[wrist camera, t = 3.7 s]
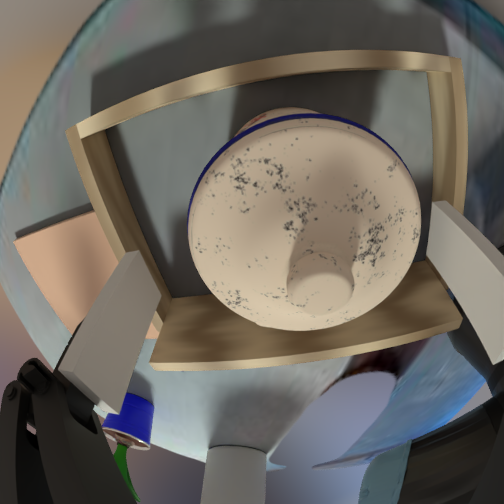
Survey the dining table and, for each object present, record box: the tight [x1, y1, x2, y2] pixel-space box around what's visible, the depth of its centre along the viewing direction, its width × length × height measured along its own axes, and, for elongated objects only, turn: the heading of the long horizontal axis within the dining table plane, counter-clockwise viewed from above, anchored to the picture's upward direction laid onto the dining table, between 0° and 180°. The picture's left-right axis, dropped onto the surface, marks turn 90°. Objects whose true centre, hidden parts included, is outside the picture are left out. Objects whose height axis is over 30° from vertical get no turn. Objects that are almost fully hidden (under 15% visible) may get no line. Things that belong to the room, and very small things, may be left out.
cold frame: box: [65, 50, 468, 371], centre depth 15 cm, size 24×17×7 cm
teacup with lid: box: [187, 107, 421, 331], centre depth 13 cm, size 12×9×12 cm
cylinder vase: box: [201, 446, 266, 504], centre depth 38 cm, size 12×12×25 cm
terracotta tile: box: [13, 210, 160, 339], centre depth 24 cm, size 14×14×1 cm
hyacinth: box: [102, 393, 154, 502], centre depth 24 cm, size 9×10×30 cm
